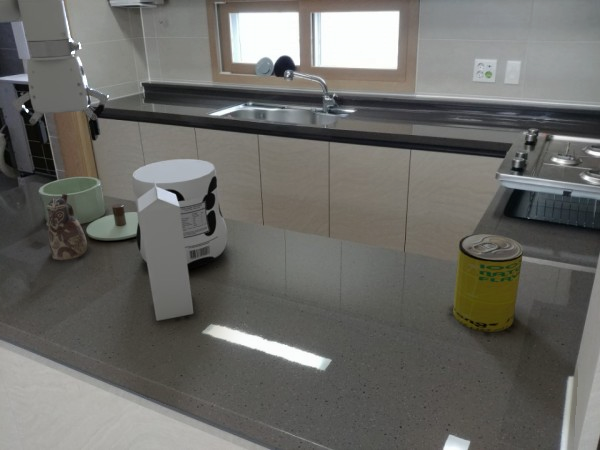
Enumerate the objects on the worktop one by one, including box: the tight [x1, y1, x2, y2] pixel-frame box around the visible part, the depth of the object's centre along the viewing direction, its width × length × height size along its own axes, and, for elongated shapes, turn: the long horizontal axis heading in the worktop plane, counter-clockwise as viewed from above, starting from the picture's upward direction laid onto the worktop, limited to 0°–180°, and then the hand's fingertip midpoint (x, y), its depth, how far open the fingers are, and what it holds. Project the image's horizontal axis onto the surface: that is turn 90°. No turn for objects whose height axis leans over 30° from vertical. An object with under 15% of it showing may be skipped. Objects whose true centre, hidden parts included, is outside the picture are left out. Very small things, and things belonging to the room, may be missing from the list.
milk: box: [137, 178, 194, 322], centre depth 85 cm, size 6×6×22 cm
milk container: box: [131, 158, 228, 269], centre depth 103 cm, size 17×17×18 cm
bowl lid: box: [85, 203, 138, 241], centre depth 120 cm, size 15×15×6 cm
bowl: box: [38, 176, 106, 225], centre depth 129 cm, size 14×14×8 cm
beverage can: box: [452, 233, 524, 333], centre depth 82 cm, size 9×9×12 cm
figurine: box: [45, 194, 88, 261], centre depth 108 cm, size 7×7×12 cm
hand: (69, 140), depth 106 cm, fingers open, 9 cm apart
